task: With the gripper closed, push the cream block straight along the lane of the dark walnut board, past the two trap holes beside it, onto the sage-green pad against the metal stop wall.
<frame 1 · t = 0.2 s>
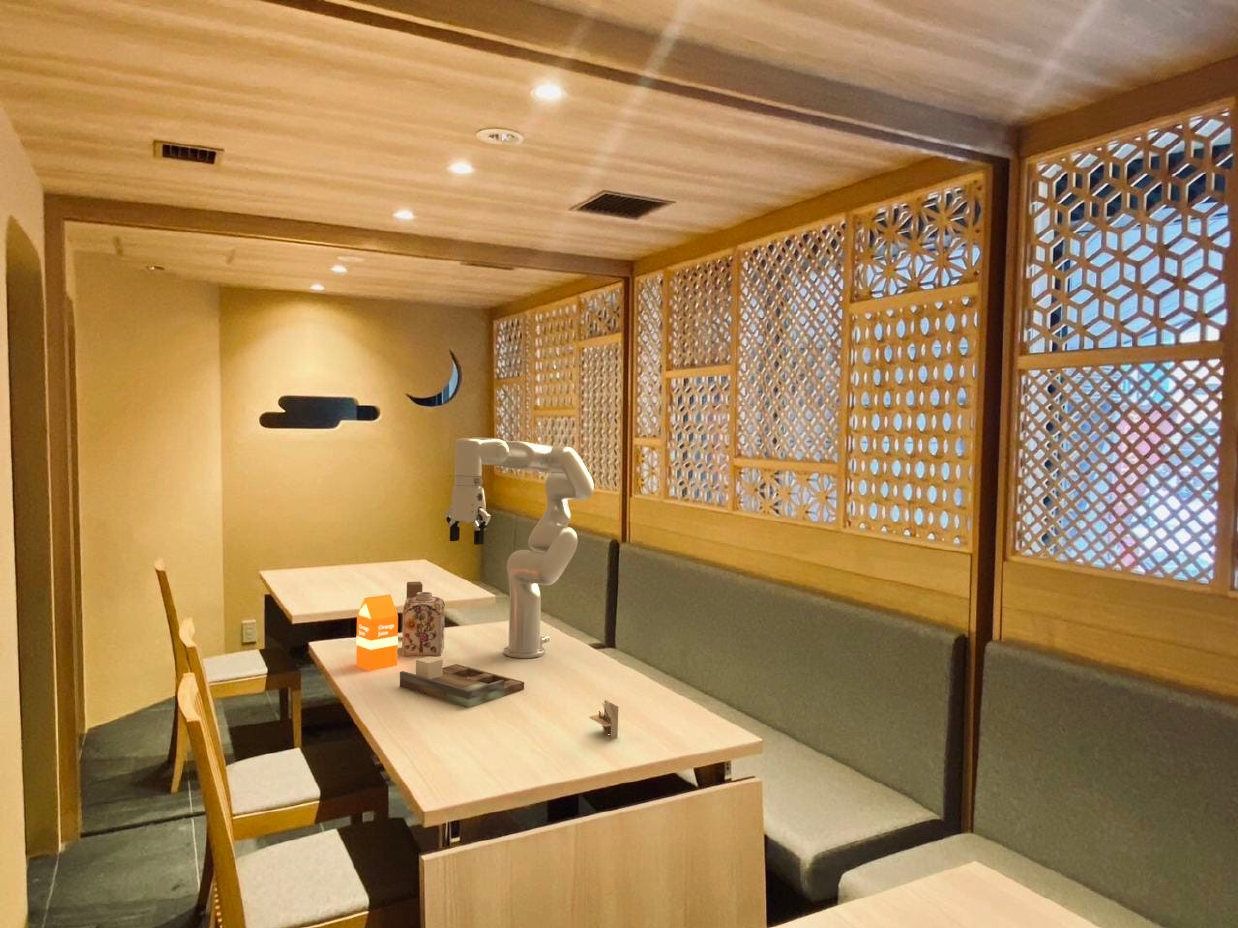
hand: (466, 542, 248), 36 cm above the table, tool pointing down, fingers open, 9 cm apart
block: (429, 676, 236), point 2 cm above the table, touching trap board
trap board: (461, 687, 233), on the table
decorative jar: (423, 652, 269), on the table
orange juice: (376, 665, 252), on the table
wooden block: (420, 637, 286), on the table
architectural model: (607, 736, 201), on the table
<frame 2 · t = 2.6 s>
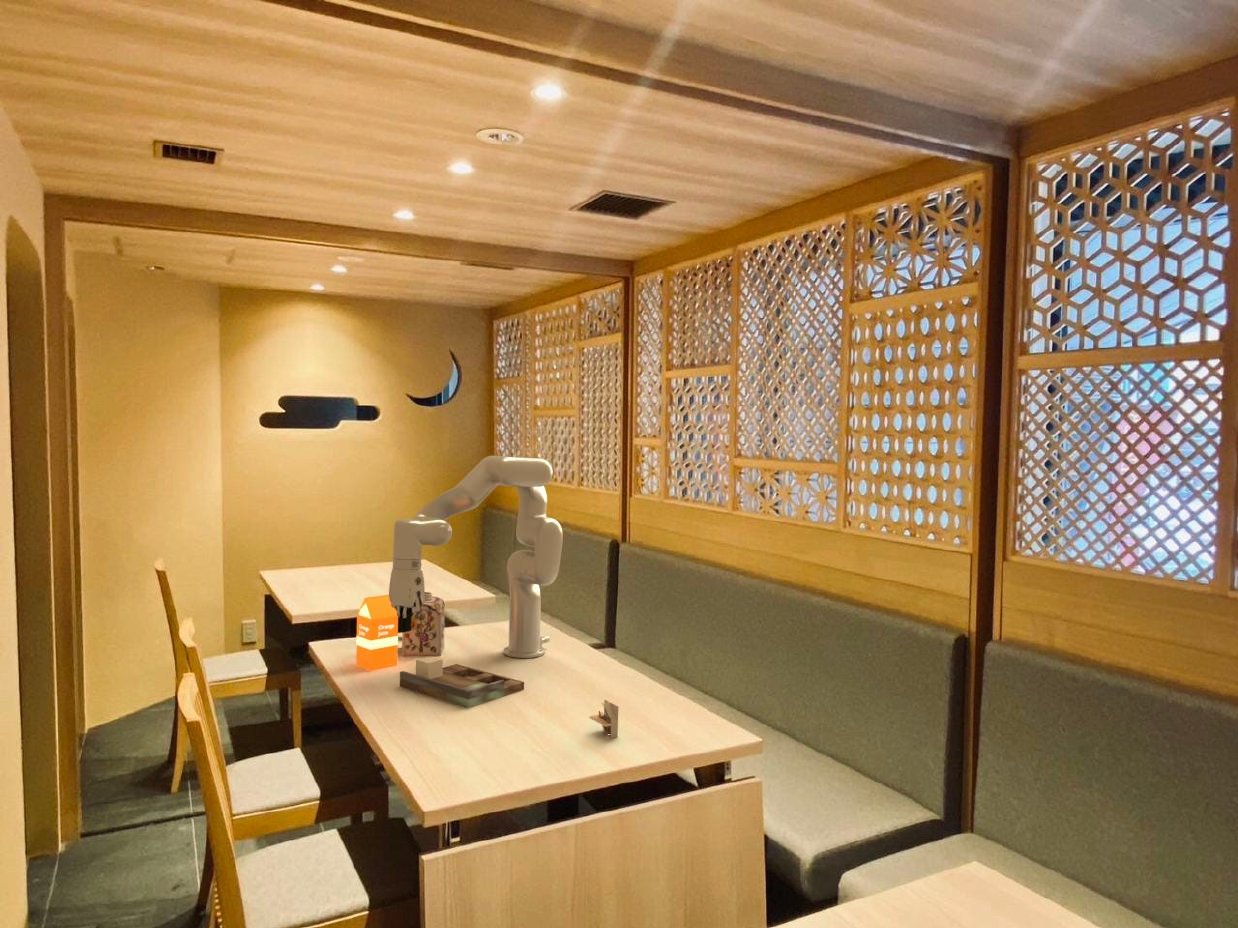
hand: (404, 631, 241), 13 cm above the table, tool pointing down, fingers closed
nothing on the table moved.
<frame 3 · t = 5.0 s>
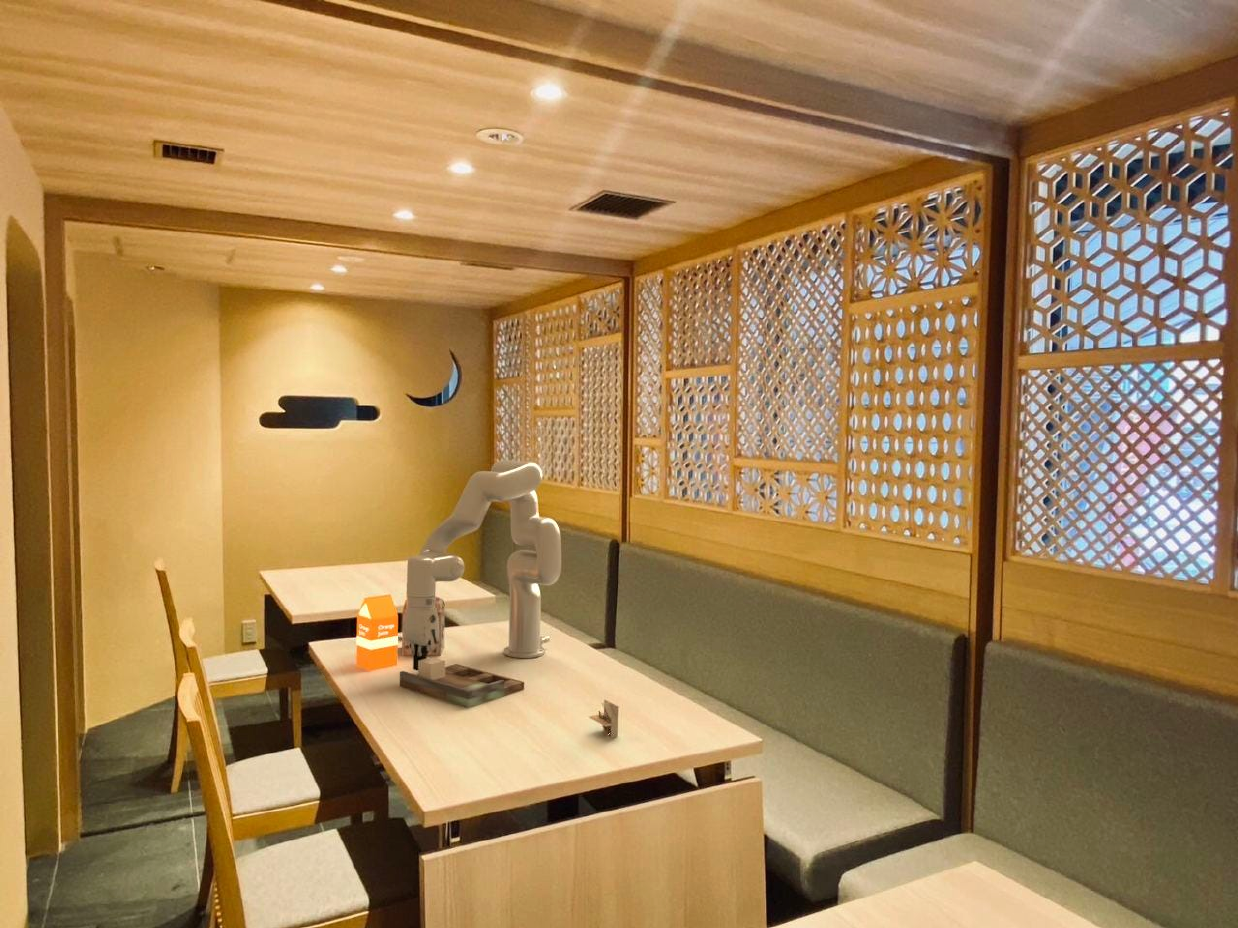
hand: (419, 669, 238), 3 cm above the table, tool pointing down, fingers closed
block: (431, 677, 235), point 2 cm above the table, touching gripper, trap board
everything else where it was.
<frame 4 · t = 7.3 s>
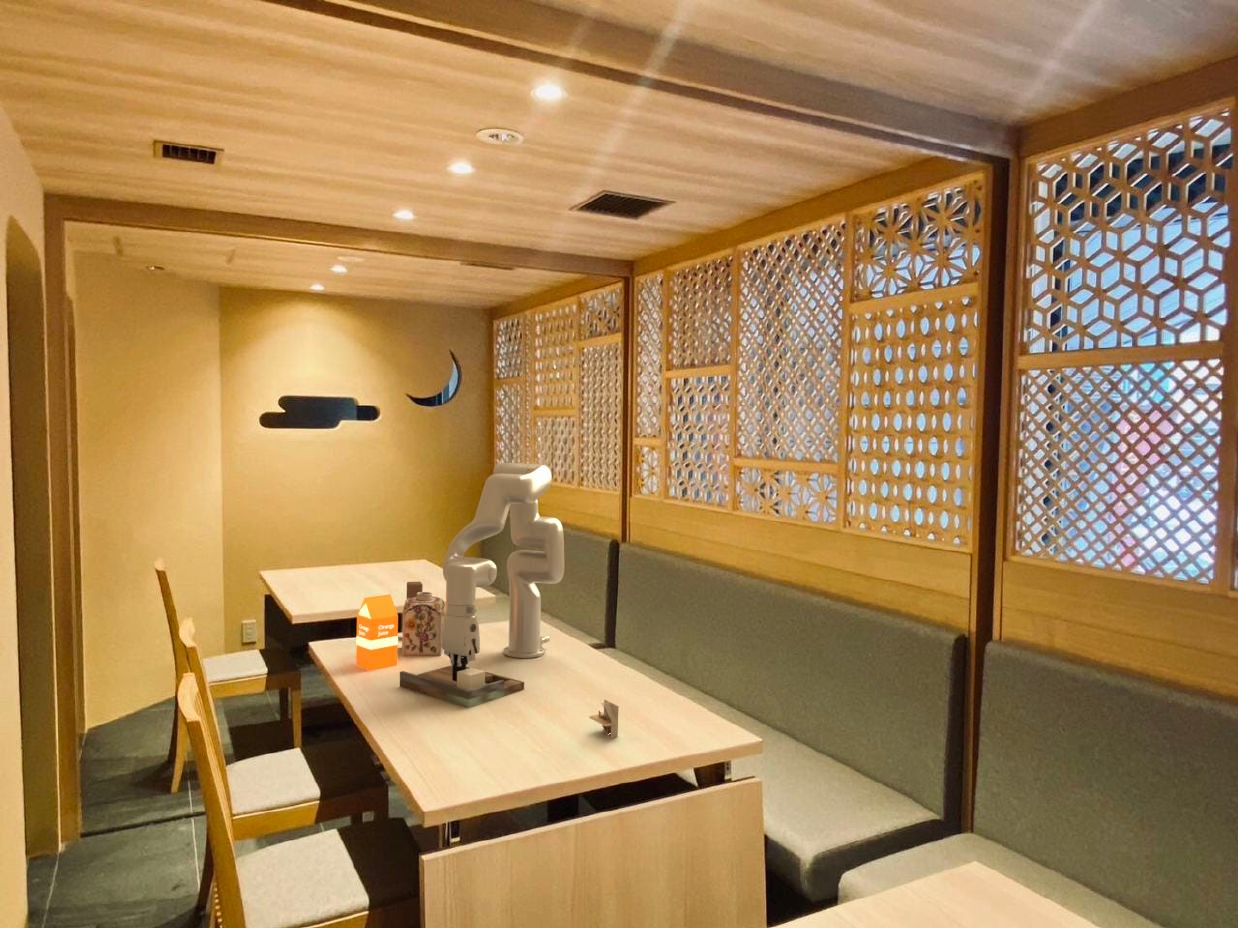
hand: (459, 679, 229), 3 cm above the table, tool pointing down, fingers closed
block: (470, 688, 226), point 2 cm above the table, touching gripper
everything else where it was.
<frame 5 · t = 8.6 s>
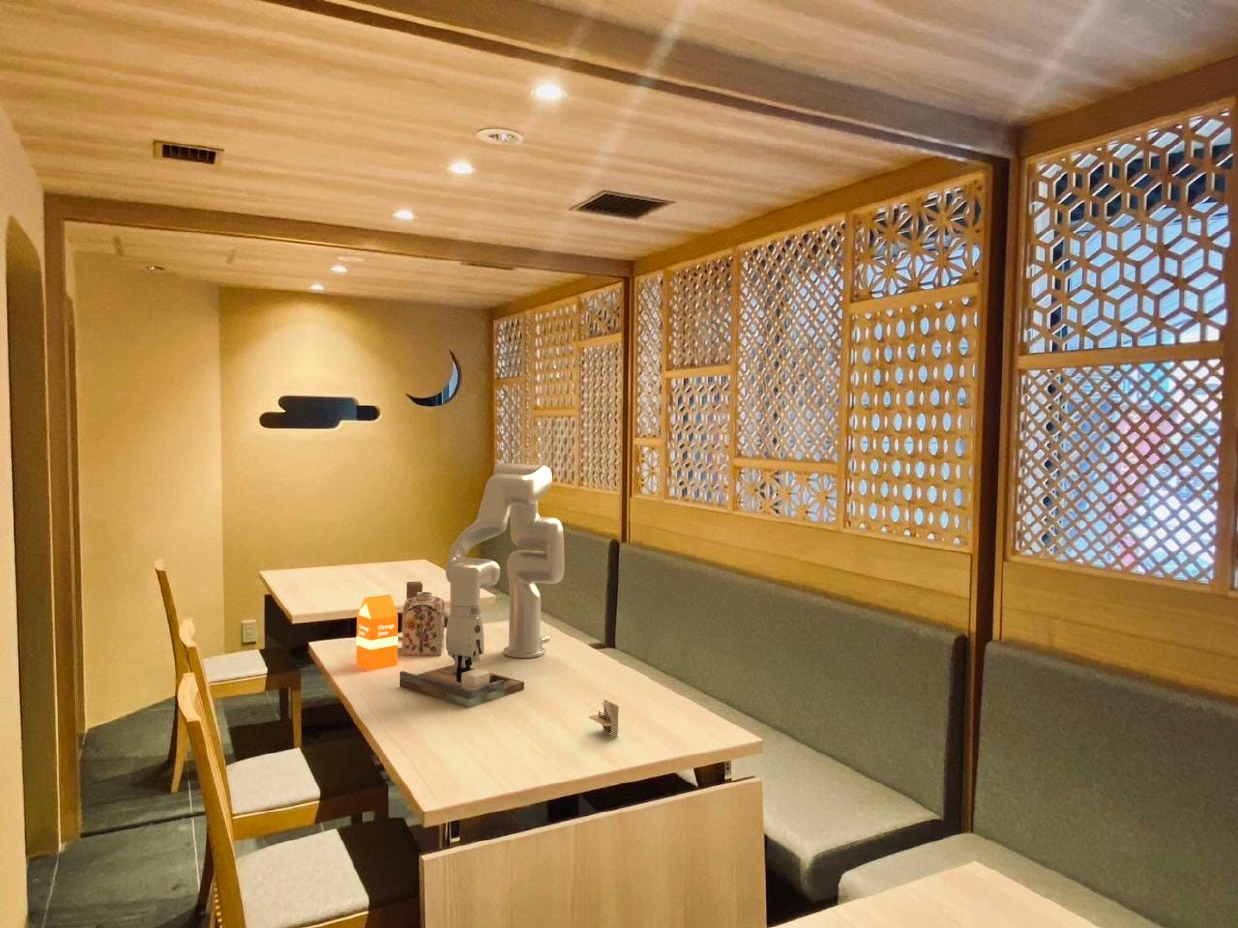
hand: (463, 681, 228), 3 cm above the table, tool pointing down, fingers closed
block: (475, 690, 225), point 2 cm above the table, touching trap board
everything else where it was.
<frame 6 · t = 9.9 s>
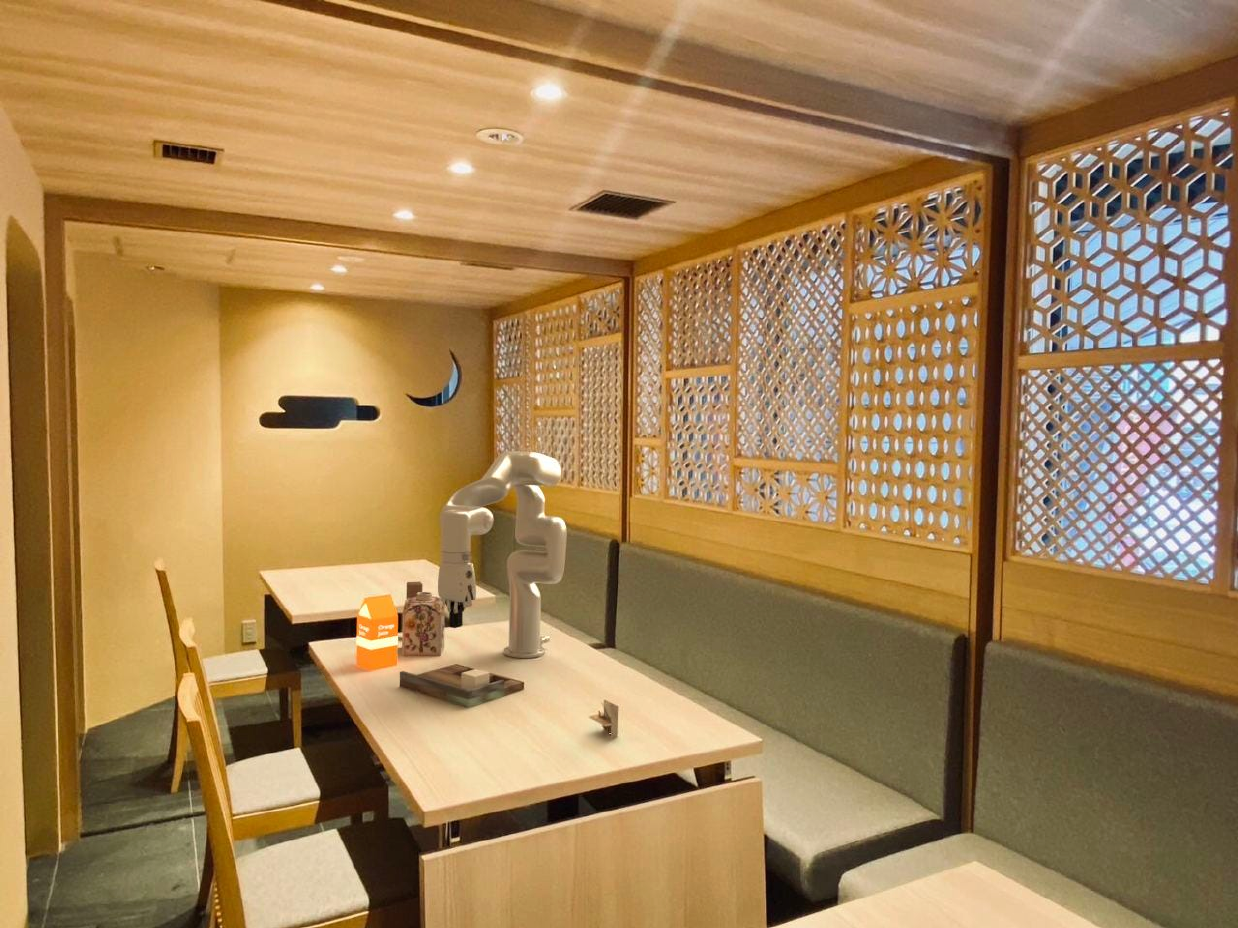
hand: (455, 626, 230), 17 cm above the table, tool pointing down, fingers closed
nothing on the table moved.
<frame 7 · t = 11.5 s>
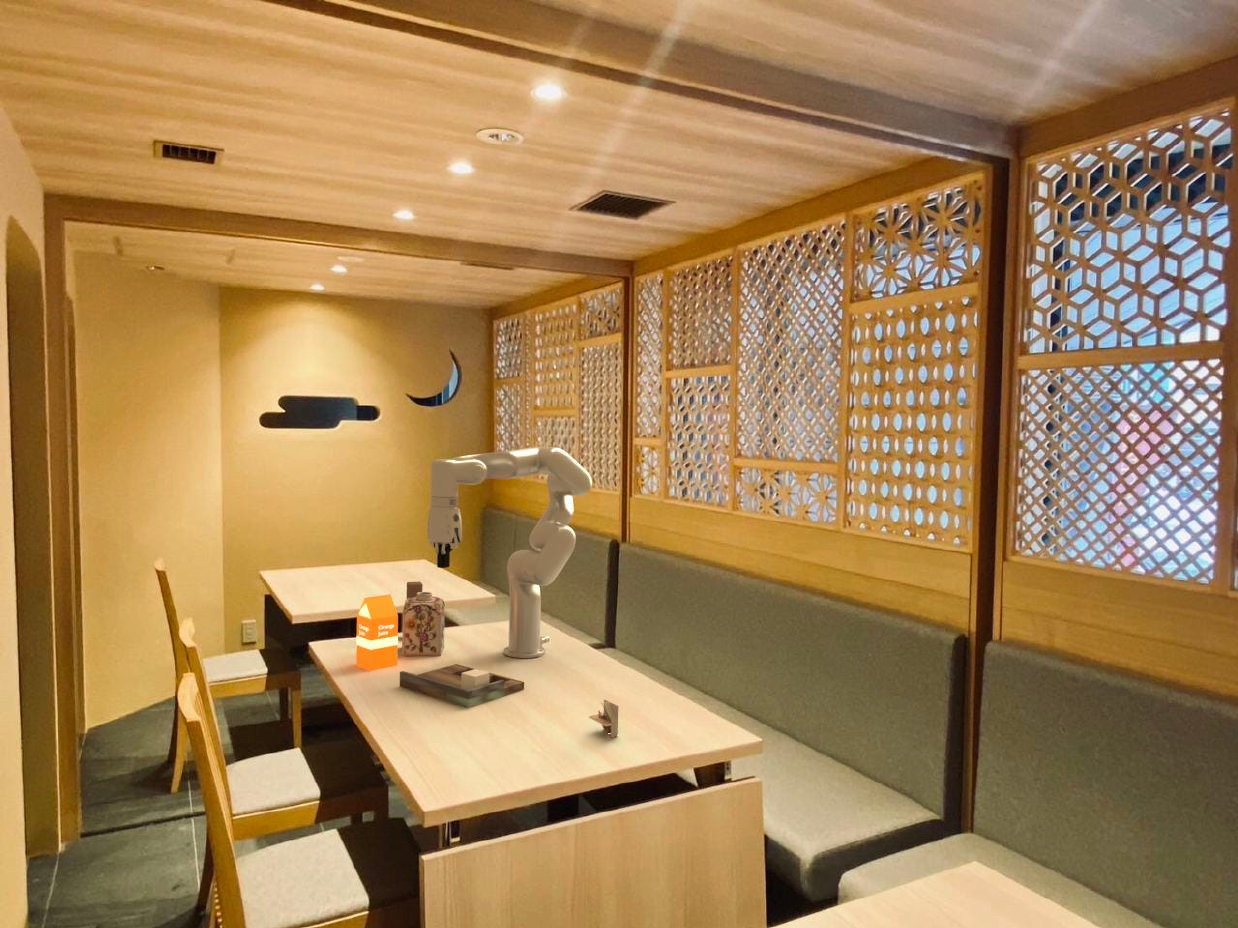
hand: (443, 567, 249), 29 cm above the table, tool pointing down, fingers closed
nothing on the table moved.
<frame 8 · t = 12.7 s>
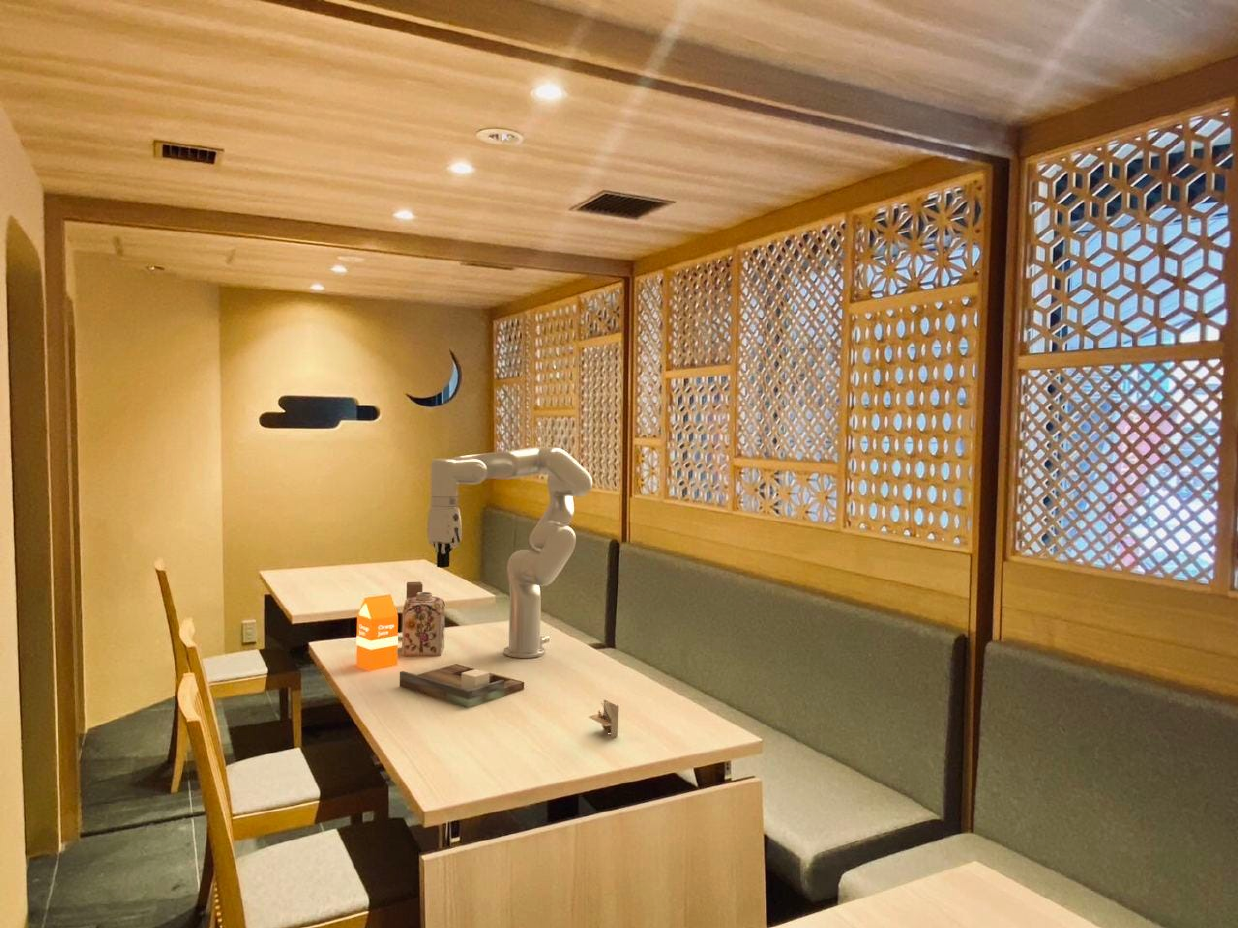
hand: (443, 566, 249), 29 cm above the table, tool pointing down, fingers closed
nothing on the table moved.
at the end: block inside the target area (0.6 cm from its centre), point 2.0 cm above the table; block tilted 0°; block moved 18.2 cm from its start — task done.
